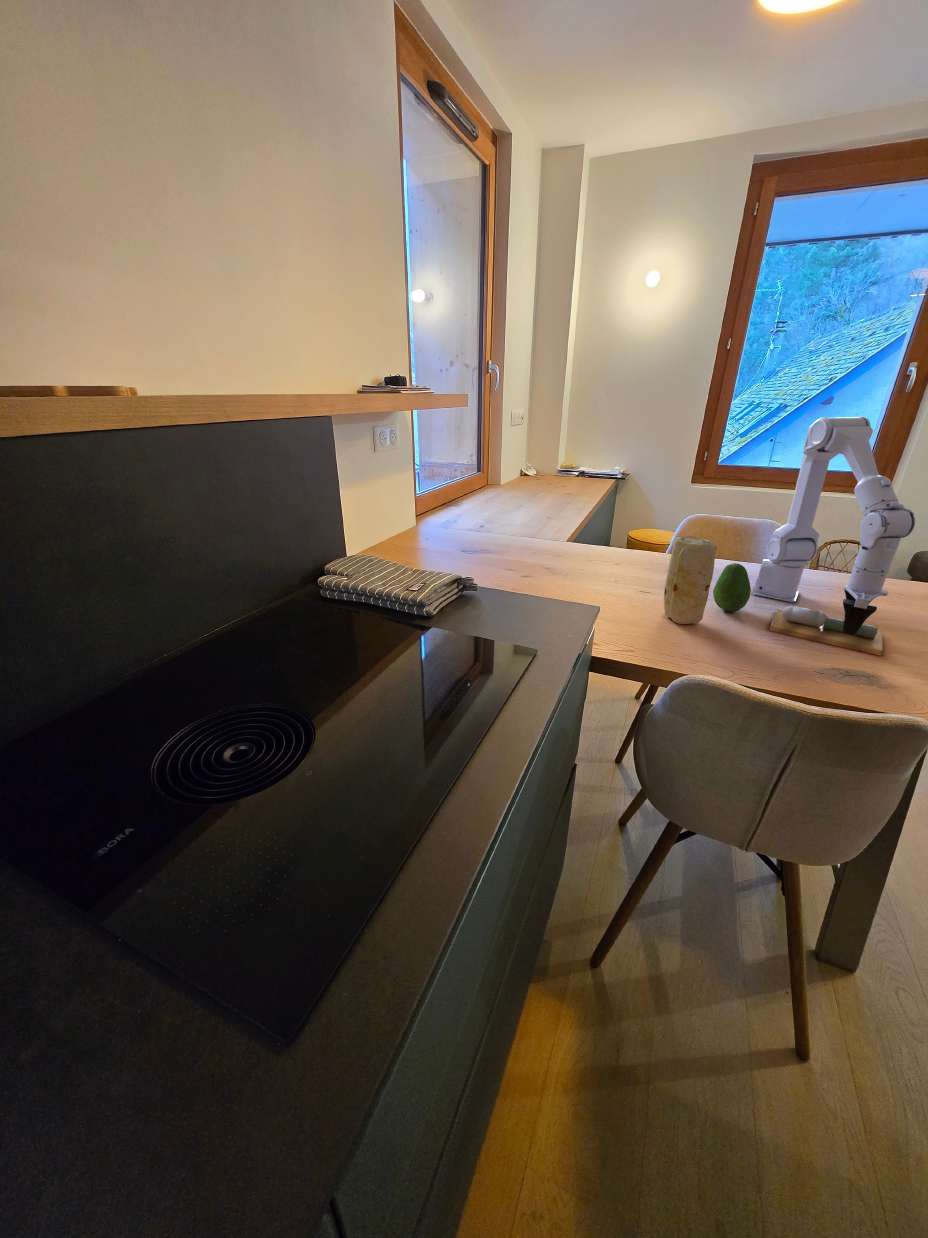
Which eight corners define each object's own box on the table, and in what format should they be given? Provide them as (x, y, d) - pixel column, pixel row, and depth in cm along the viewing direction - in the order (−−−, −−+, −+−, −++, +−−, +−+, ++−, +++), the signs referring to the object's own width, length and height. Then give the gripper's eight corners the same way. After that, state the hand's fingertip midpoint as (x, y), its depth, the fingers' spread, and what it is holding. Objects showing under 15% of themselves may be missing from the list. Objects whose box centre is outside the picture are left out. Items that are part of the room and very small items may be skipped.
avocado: (717, 601, 127) (727, 556, 121) (749, 609, 122) (761, 563, 116) (704, 610, 122) (714, 564, 116) (738, 620, 117) (750, 572, 111)
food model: (706, 620, 117) (724, 538, 108) (696, 630, 112) (714, 545, 103) (665, 609, 122) (679, 531, 114) (654, 618, 118) (668, 537, 109)
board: (769, 630, 111) (770, 625, 111) (776, 613, 119) (777, 609, 119) (880, 655, 101) (882, 650, 100) (880, 635, 108) (881, 630, 108)
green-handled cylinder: (873, 634, 106) (879, 620, 104) (873, 642, 104) (879, 627, 102) (781, 615, 115) (785, 601, 114) (779, 621, 113) (783, 608, 111)
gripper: (897, 582, 93) (872, 645, 99) (894, 561, 104) (872, 619, 110) (851, 575, 97) (830, 636, 103) (853, 555, 108) (834, 612, 114)
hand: (849, 627), depth 107 cm, fingers open, 6 cm apart
